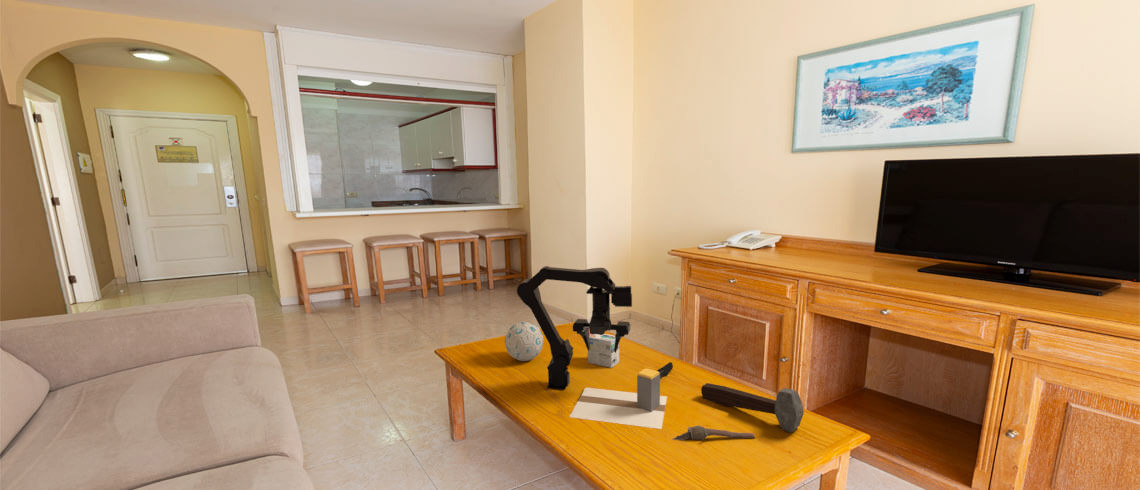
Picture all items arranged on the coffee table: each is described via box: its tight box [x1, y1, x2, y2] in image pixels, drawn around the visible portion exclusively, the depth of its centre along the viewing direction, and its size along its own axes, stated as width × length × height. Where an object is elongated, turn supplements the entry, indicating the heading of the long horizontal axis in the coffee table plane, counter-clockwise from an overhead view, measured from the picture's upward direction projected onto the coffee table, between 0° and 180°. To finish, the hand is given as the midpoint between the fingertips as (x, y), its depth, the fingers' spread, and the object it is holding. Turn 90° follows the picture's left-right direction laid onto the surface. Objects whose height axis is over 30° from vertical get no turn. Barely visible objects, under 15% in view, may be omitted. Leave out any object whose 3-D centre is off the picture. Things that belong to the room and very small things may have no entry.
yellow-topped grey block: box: [636, 367, 661, 412], centre depth 142 cm, size 5×5×11 cm
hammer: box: [700, 382, 805, 434], centre depth 138 cm, size 5×11×30 cm
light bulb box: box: [587, 333, 620, 369], centre depth 178 cm, size 11×7×11 cm, turn 58°
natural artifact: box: [672, 425, 756, 441], centre depth 125 cm, size 4×23×4 cm
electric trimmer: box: [656, 361, 674, 380], centre depth 166 cm, size 4×16×3 cm, turn 142°
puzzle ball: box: [504, 321, 544, 362], centre depth 183 cm, size 15×15×15 cm
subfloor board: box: [568, 387, 668, 430], centre depth 143 cm, size 27×20×1 cm
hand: (602, 351), depth 156 cm, fingers open, 9 cm apart
